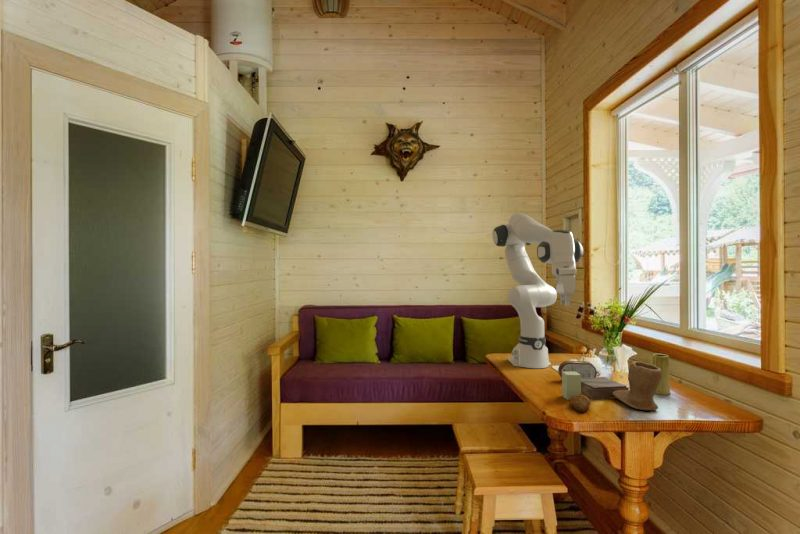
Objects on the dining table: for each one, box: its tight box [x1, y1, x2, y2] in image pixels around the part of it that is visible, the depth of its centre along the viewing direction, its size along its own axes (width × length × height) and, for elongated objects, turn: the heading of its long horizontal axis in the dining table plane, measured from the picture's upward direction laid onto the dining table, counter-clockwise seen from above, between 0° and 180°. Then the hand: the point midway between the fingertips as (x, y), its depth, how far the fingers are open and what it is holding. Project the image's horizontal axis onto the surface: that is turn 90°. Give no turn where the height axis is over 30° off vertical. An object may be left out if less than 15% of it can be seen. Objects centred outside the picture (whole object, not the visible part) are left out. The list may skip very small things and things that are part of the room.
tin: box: [557, 360, 598, 379], centre depth 180 cm, size 15×3×8 cm, turn 84°
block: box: [561, 372, 582, 401], centre depth 158 cm, size 5×5×9 cm
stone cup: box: [612, 360, 662, 411], centre depth 149 cm, size 15×12×15 cm
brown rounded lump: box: [569, 393, 592, 414], centre depth 147 cm, size 14×7×5 cm, turn 160°
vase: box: [652, 353, 671, 396], centre depth 164 cm, size 6×6×14 cm
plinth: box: [581, 376, 629, 400], centre depth 164 cm, size 14×14×4 cm
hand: (565, 305), depth 170 cm, fingers open, 8 cm apart
